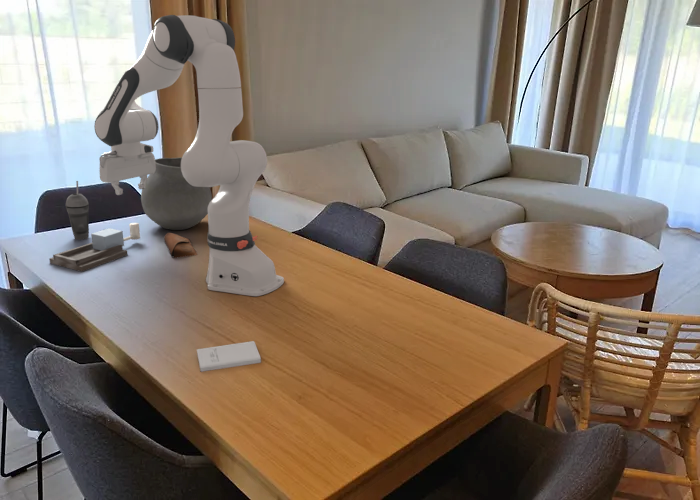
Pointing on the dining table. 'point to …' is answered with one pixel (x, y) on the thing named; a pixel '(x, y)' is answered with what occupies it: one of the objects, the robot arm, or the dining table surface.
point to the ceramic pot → (173, 197)
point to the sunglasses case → (179, 245)
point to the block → (113, 237)
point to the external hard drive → (228, 356)
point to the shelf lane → (87, 257)
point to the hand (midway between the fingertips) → (131, 191)
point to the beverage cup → (78, 215)
